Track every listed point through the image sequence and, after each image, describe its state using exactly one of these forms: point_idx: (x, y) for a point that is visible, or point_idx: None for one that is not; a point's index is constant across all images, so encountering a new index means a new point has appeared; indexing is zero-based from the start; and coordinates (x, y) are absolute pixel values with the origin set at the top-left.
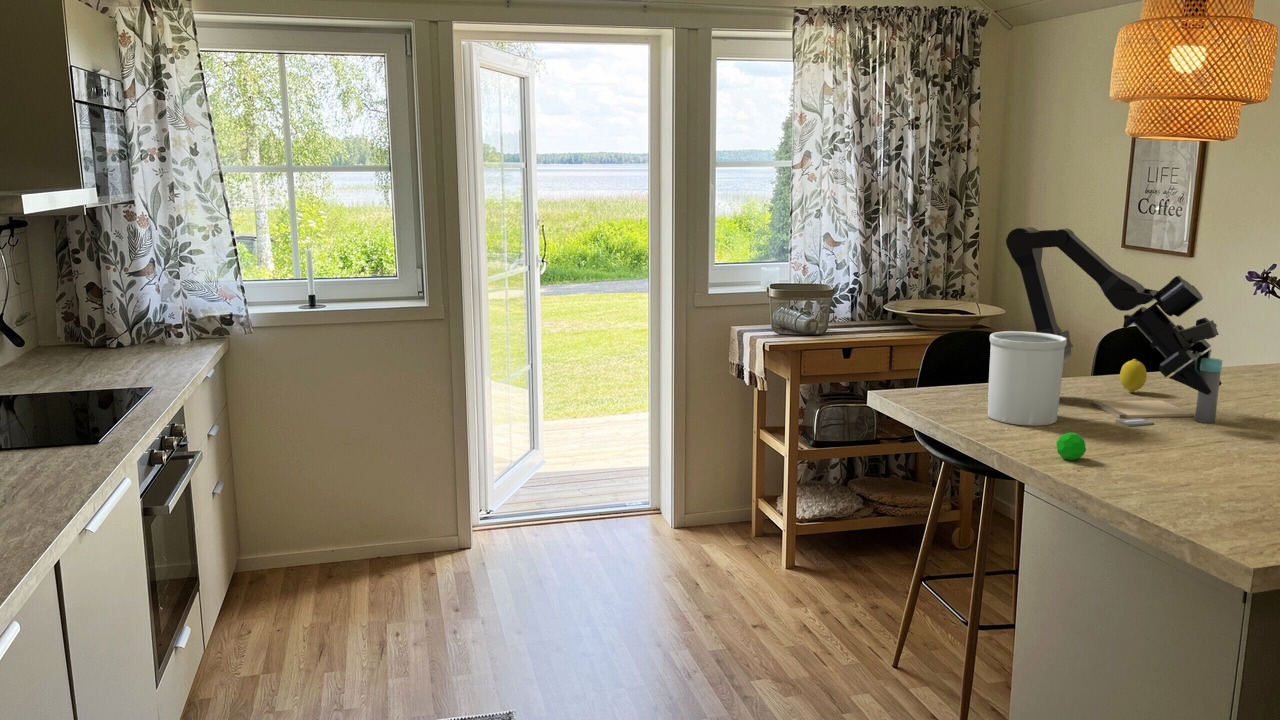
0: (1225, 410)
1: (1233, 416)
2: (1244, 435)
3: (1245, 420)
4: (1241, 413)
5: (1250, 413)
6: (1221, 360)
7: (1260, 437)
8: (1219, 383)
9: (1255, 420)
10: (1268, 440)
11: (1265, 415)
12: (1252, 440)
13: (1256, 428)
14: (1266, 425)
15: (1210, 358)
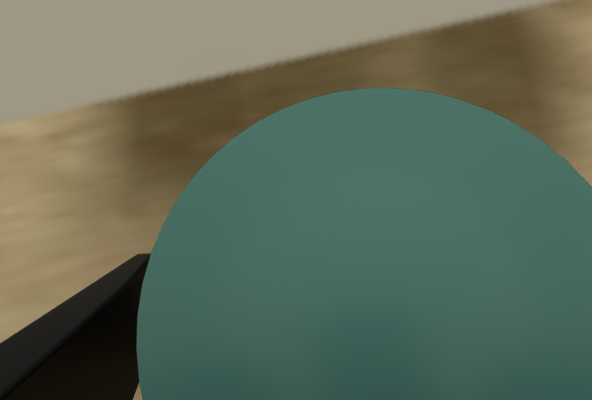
0: (35, 288)
1: (147, 228)
2: (512, 100)
3: (200, 167)
4: (62, 214)
5: (42, 183)
6: (315, 114)
7: (495, 45)
8: None
9: (173, 135)
10: (524, 10)
11: (49, 126)
12: (583, 54)
13: None
14: (242, 80)
15: (198, 384)
